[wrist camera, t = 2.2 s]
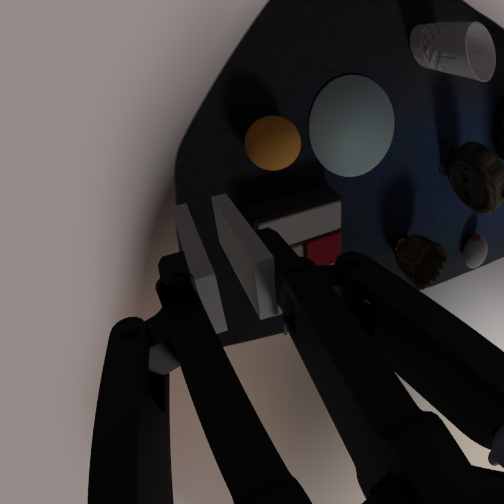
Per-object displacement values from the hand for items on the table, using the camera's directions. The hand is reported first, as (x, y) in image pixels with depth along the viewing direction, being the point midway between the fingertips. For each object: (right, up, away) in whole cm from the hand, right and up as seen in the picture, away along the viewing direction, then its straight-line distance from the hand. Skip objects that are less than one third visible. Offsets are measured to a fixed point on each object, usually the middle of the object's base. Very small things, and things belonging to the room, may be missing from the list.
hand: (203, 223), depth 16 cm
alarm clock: (+34, +13, +27) cm, 45 cm away
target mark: (+15, +14, +18) cm, 27 cm away
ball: (+5, +9, +13) cm, 17 cm away
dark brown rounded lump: (+26, 0, +31) cm, 41 cm away
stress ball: (+49, 0, +40) cm, 63 cm away
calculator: (+8, -1, +25) cm, 26 cm away
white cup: (+26, +27, +15) cm, 40 cm away
